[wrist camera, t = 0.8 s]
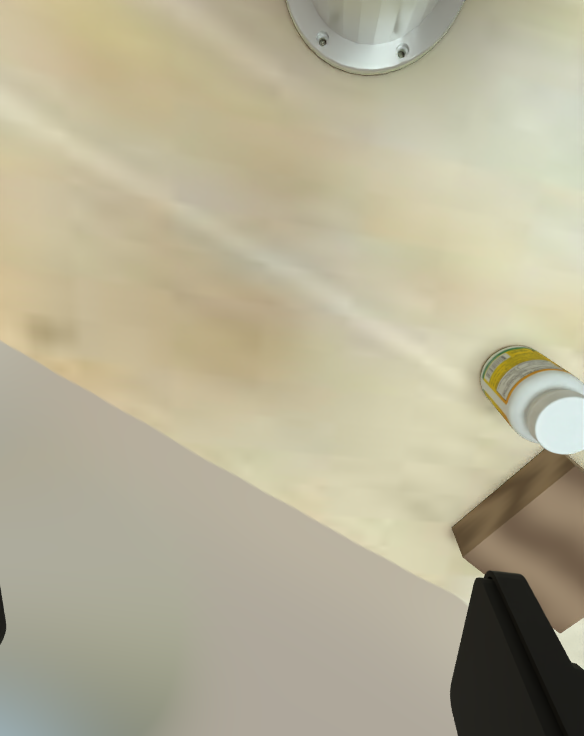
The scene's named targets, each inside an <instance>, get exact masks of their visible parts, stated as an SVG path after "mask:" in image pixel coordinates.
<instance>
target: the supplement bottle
mask: <svg viewBox="0 0 584 736" xmlns="http://www.w3.org/2000/svg"><path fill="white" fill-rule="evenodd" d="M481 387H482V390H483V392H484V394H485V395H486V396H487V398H488V399H489V400H490V401H491V403H492V404H493V405H494V406H495V407H496V409H497V410H498V411H499V412H500V413H501V415H502V416H503V417H504V418H505V420H506V421H507V422H508V423H509V425H510V426H511V427H512V428H513V429H514V431H515V432H516V433H517V434H519V435H520V436H521V437H523V438H524V439H526V440H528V441H531V442H534V443H538V444H540V445H541V446H542V447H543V448H545V449H546V450H548V451H550V452H553V453H557V454H573V453H577V452H579V451H582V450H584V384H583V383H582V382H581V381H580V380H579V379H578V378H576V377H575V376H574V375H572V374H571V373H569V372H568V371H566V370H565V369H563V368H561V367H560V366H558V365H557V364H555V363H554V362H552V361H551V360H550V359H548V358H547V357H545V356H543V355H542V354H540V353H539V352H537V351H535V350H534V349H532V348H529V347H525V346H512V347H507V348H504V349H502V350H500V351H498V352H496V353H495V354H494V355H492V356H491V357H490V358H489V359H488V360H487V362H486V363H485V365H484V367H483V369H482V373H481Z"/></svg>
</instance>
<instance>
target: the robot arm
mask: <svg viewBox="0 0 584 736" xmlns="http://www.w3.org/2000/svg"><path fill="white" fill-rule="evenodd" d="M464 2H465V0H286V3H287V7H288V11H289V13H290V15H291V18H292V20H293V22H294V25H295V27H296V29H297V31H298V32H299V34H300V35H301V37H302V38H303V40H304V41H305V43H306V44H307V45H308V46H309V47H310V48H311V49H312V50H313V51H314V52H315V53H316V54H317V55H318V56H319V57H320V58H321V59H323V60H324V61H326V62H327V63H329V64H330V65H332V66H333V67H336V68H339V69H341V70H344V71H346V72H349V73H355V74H361V75H376V74H385V73H388V72H392V71H395V70H399V69H401V68H403V67H405V66H407V65H409V64H411V63H413V62H415V61H417V60H418V59H419V58H421V57H422V56H423V55H425V54H426V53H427V52H428V51H430V50H431V49H432V48H433V47H434V46H435V45H436V44H437V43H438V42H439V41H440V39H441V38H442V37H443V36H444V35H445V34H446V32H447V31H448V29H449V28H450V26H451V25H452V23H453V22H454V20H455V19H456V17H457V16H458V14H459V12H460V10H461V8H462V6H463V4H464ZM323 39H324V40H326V45H324V46H321V45H320V44H319V42H320V41H321V40H323ZM399 51H402V52H404V57H403V58H399V57H398V54H397V53H398V52H399ZM5 632H6V620H5V614H4V608H3V601H2V595H1V588H0V644H1V642H2V640H3V638H4V635H5ZM450 699H451V708H452V713H453V717H454V721H455V725H456V729H457V733H458V736H584V670H583V669H582V668H581V667H580V666H579V665H577V664H575V663H571V661H570V659H569V658H568V656H567V654H566V652H565V650H564V648H563V646H562V645H561V643H560V641H559V639H558V637H557V635H556V634H555V632H554V630H553V628H552V626H551V624H550V622H549V621H548V619H547V617H546V615H545V613H544V611H543V610H542V608H541V606H540V604H539V602H538V600H537V598H536V597H535V595H534V593H533V591H532V589H531V587H530V586H529V584H528V582H527V580H526V579H525V577H524V576H523V575H521V574H517V573H509V572H500V571H492V570H489V571H487V572H486V573H485V576H484V578H476V579H475V582H474V585H473V590H472V594H471V598H470V603H469V607H468V612H467V616H466V620H465V625H464V629H463V634H462V638H461V643H460V647H459V651H458V656H457V660H456V664H455V669H454V673H453V678H452V682H451V689H450Z"/></svg>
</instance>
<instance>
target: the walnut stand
mask: <svg viewBox="0 0 584 736" xmlns="http://www.w3.org/2000/svg"><path fill="white" fill-rule="evenodd" d="M452 530H453V532H454V535H455V538H456V540H457V543H458V546H459V548H460V551H461V554H462V556H463V558H464V559H466V560H467V561H468V562H469V563H471V564H472V565H473V566H475V567H476V568H477V569H478V570H480V571H481V572H482V573H483V574H485V573H486V572H487V571H489V570H492V571H500V572H509V573H517V574H521V575H523V576H524V577H525V579H526V580H527V582H528V584H529V586H530V587H531V589H532V591H533V593H534V595H535V597H536V598H537V600H538V602H539V604H540V606H541V608H542V610H543V611H544V613H545V615H546V617H547V619H548V621H549V622H550V624H551V626H552V628H554V629H555V630H556V631H557V632H559V633H562V632H563V631H565V630H566V629H568V628H569V627H570V626H572V625H573V624H575V623H576V622H578V621H579V620H581V619H582V618H584V469H583V468H582V467H580V466H579V465H578V464H577V463H576V462H575V461H573V460H572V459H571V458H570V457H569V456H568V455H566V454H557V453H553V452H550V451H548V450H546V449H544V450H543V451H542V452H541V453H540V454H538V455H537V456H536V457H535V458H534V459H533V460H531V461H530V462H529V463H528V464H527V465H525V466H524V467H523V468H522V469H521V470H520V471H518V472H517V473H516V474H515V475H514V476H512V477H511V478H510V479H509V480H508V481H507V482H505V483H504V484H503V485H502V486H501V487H499V488H498V489H497V490H496V491H495V492H494V493H492V494H491V495H490V496H489V497H488V498H486V499H485V500H484V501H483V502H482V503H481V504H479V505H478V506H477V507H476V508H475V509H473V510H472V511H471V512H470V513H469V514H467V515H466V516H465V517H464V518H463V519H462V520H460V521H459V522H458V523H457V524H456V525H454V526H453V527H452Z"/></svg>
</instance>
